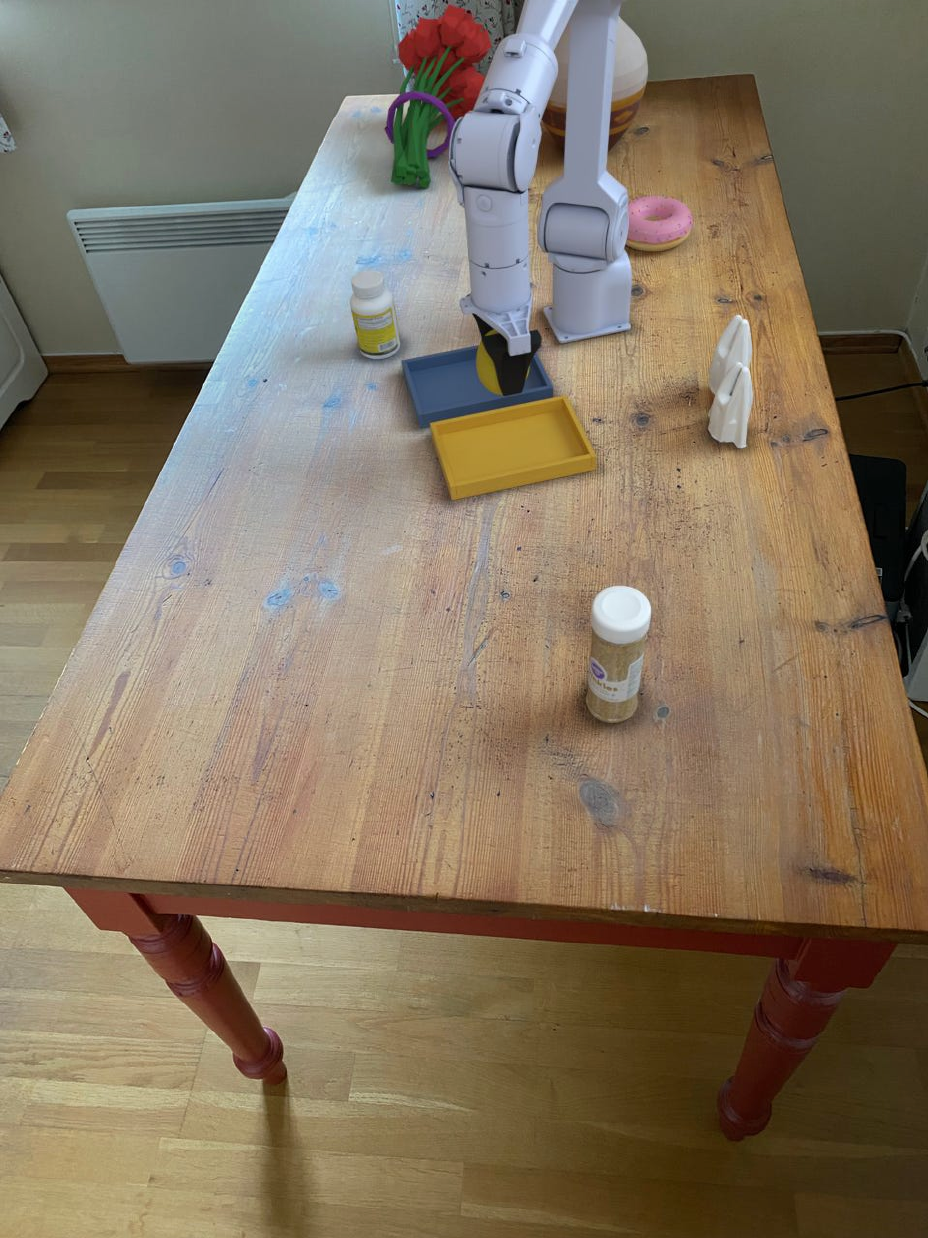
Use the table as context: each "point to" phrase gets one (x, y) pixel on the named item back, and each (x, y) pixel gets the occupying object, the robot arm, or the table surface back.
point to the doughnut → (657, 223)
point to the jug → (624, 89)
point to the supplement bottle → (374, 315)
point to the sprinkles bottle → (616, 652)
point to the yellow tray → (511, 447)
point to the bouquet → (434, 88)
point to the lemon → (488, 368)
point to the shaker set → (731, 384)
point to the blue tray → (463, 386)
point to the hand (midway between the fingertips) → (504, 375)
